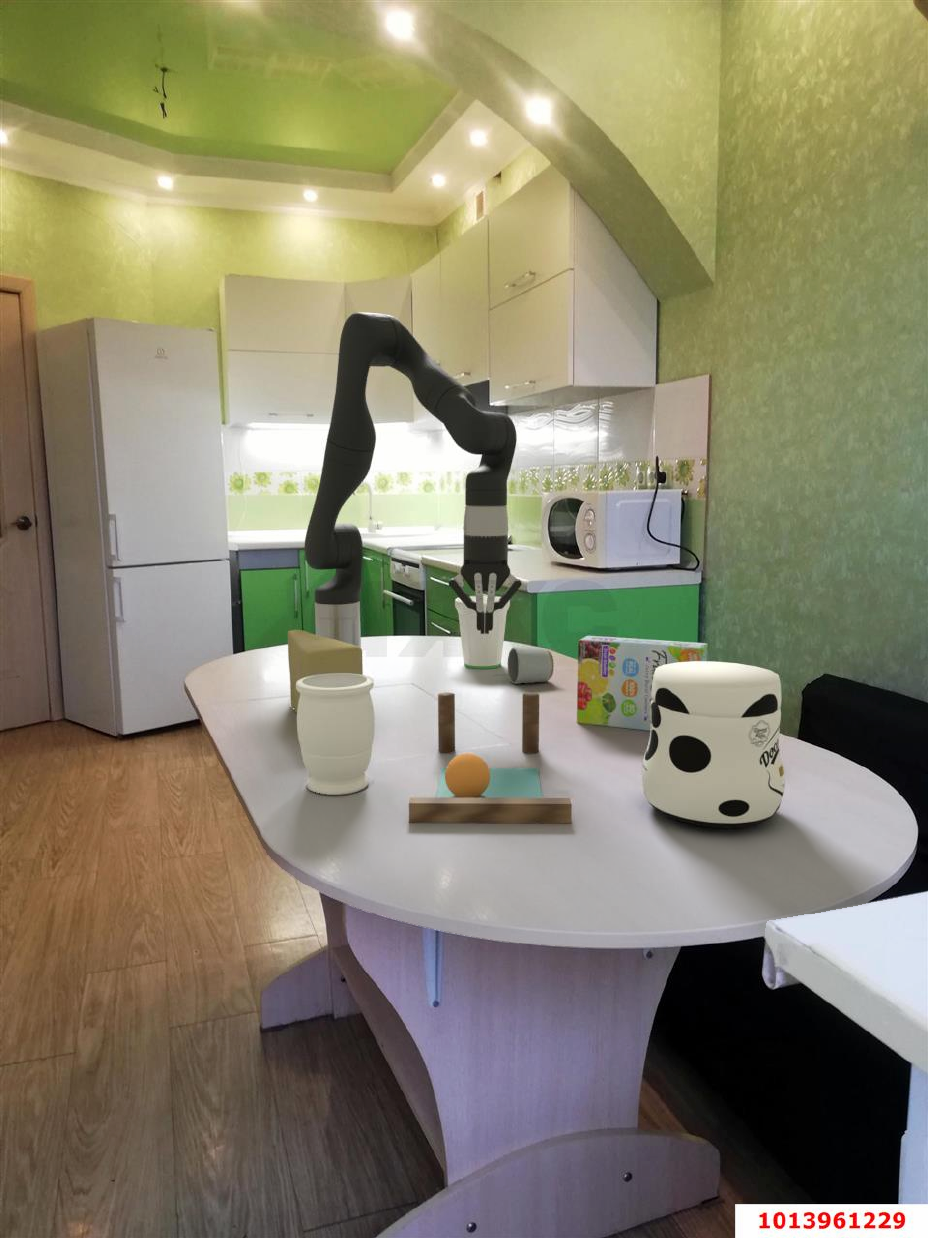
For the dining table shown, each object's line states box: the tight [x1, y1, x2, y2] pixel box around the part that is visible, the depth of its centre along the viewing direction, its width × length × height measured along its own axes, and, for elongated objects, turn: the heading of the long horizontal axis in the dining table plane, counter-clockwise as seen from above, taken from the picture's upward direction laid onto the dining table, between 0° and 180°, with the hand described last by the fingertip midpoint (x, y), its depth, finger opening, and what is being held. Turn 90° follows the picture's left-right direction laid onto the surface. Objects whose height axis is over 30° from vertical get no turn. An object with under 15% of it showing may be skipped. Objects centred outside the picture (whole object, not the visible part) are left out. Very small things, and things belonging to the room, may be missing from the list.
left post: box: [437, 692, 456, 754], centre depth 134 cm, size 3×3×9 cm
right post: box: [521, 692, 540, 754], centre depth 134 cm, size 3×3×9 cm
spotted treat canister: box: [641, 660, 786, 829], centre depth 108 cm, size 17×17×18 cm
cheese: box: [287, 629, 364, 713], centre depth 152 cm, size 22×10×15 cm, turn 30°
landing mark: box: [436, 767, 543, 798], centre depth 119 cm, size 14×14×1 cm
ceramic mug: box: [507, 646, 555, 685], centre depth 182 cm, size 11×8×8 cm
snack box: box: [576, 635, 709, 732], centre depth 147 cm, size 21×6×15 cm, turn 65°
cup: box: [454, 595, 511, 670], centre depth 197 cm, size 12×12×15 cm
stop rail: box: [408, 796, 573, 824], centre depth 107 cm, size 20×2×2 cm, turn 89°
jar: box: [296, 673, 376, 796], centre depth 118 cm, size 11×10×15 cm
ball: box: [445, 752, 490, 798], centre depth 114 cm, size 6×6×6 cm
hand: (484, 633), depth 149 cm, fingers closed
